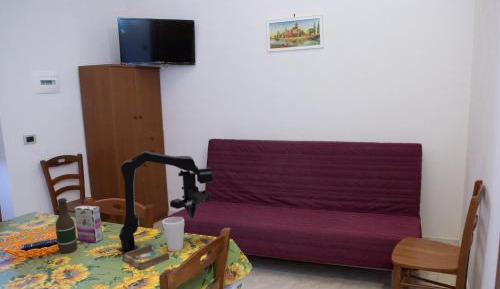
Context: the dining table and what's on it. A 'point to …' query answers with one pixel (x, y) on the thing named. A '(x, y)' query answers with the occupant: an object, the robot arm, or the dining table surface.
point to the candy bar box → (88, 223)
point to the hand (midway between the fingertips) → (191, 218)
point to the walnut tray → (142, 265)
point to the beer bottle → (65, 229)
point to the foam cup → (174, 232)
